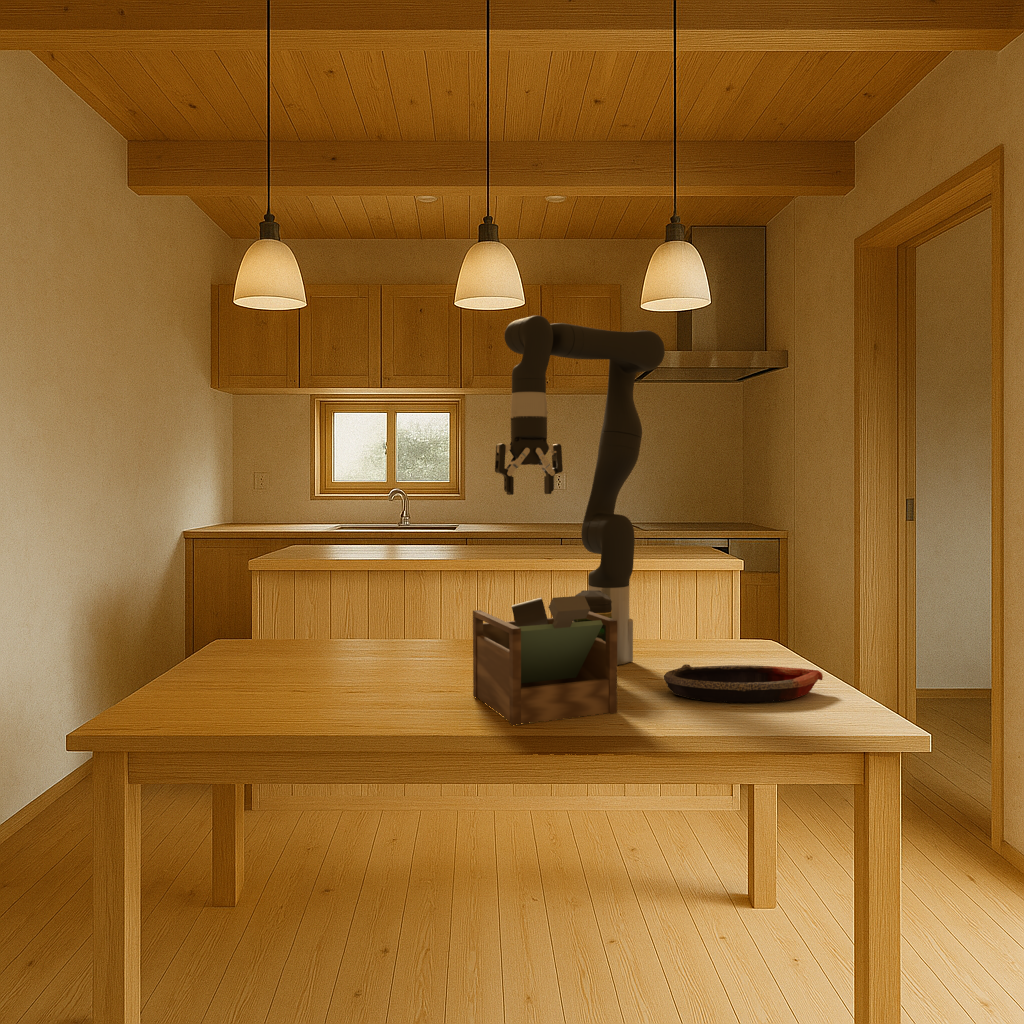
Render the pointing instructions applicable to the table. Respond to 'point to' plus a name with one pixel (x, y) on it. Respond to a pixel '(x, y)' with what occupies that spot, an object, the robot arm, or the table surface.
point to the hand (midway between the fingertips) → (529, 494)
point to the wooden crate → (544, 698)
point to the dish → (741, 683)
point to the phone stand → (530, 613)
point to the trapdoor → (558, 642)
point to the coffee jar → (597, 608)
